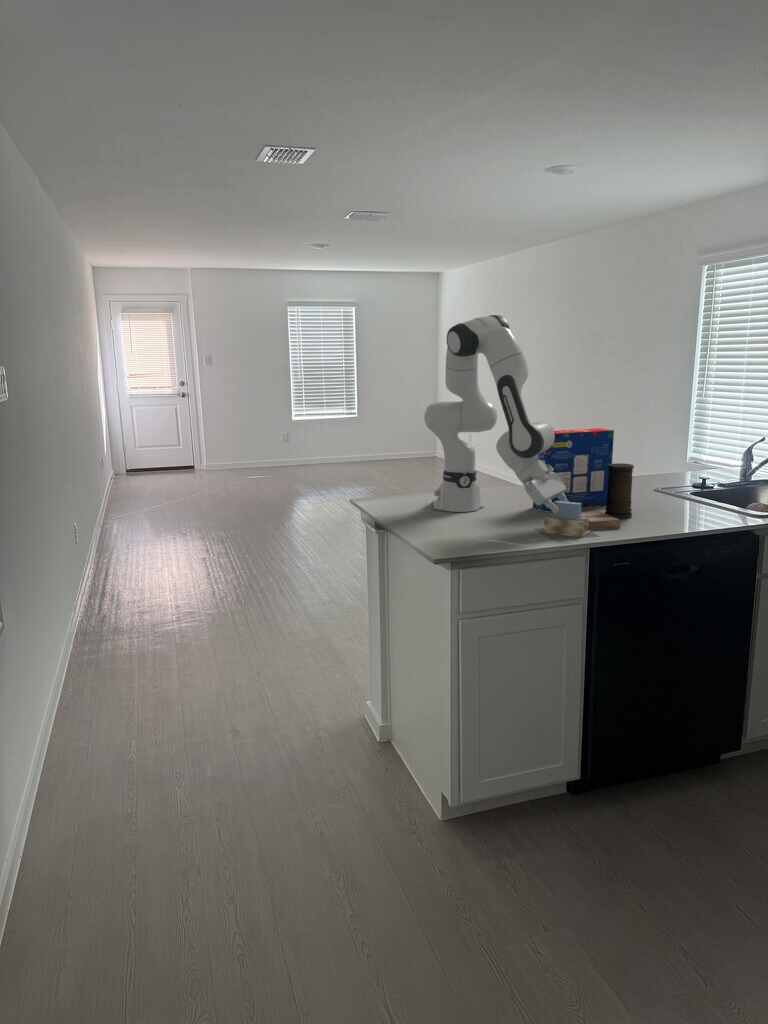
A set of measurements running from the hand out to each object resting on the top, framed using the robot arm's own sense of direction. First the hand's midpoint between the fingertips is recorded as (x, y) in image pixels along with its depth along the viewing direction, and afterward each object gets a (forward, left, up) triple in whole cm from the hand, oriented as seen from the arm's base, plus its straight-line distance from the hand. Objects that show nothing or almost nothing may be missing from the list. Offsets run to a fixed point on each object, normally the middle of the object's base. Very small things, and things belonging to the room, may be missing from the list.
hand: (562, 508), depth 221 cm
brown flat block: (-7, +15, -8) cm, 18 cm away
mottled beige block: (+1, +1, -7) cm, 8 cm away
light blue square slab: (+1, +1, -7) cm, 7 cm away
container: (-17, +29, -8) cm, 35 cm away
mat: (+1, +1, -8) cm, 8 cm away
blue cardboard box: (-36, +21, -8) cm, 42 cm away
